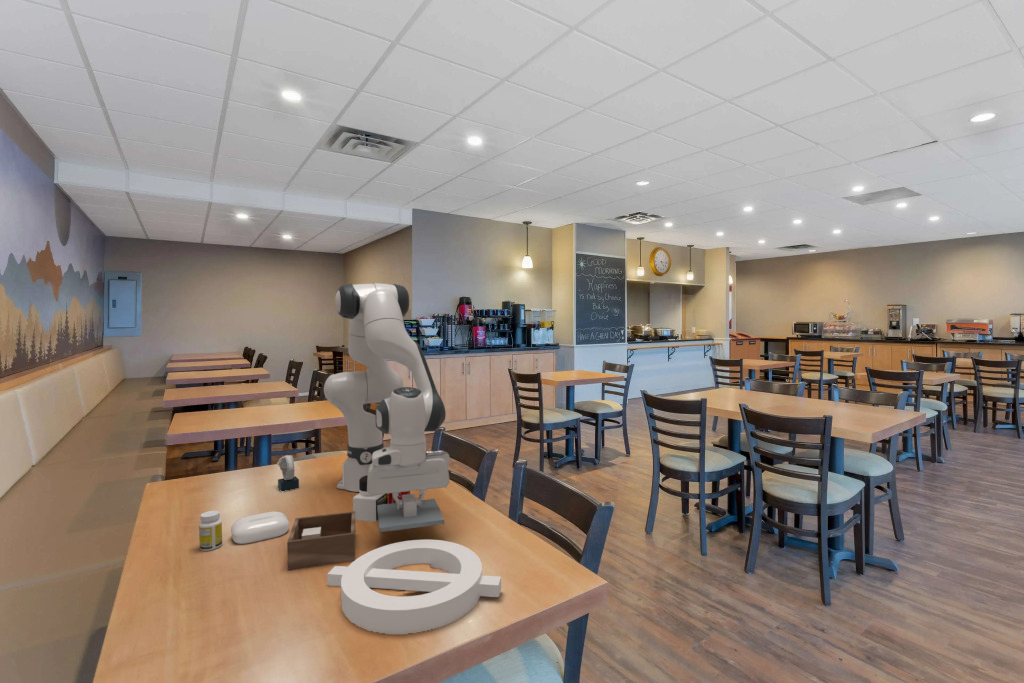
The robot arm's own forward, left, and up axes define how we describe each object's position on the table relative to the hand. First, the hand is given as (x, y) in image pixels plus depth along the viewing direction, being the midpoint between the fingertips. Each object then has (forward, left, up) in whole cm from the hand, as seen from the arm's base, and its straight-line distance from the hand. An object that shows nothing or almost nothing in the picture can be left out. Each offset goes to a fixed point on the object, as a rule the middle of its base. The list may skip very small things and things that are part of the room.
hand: (409, 507), depth 121 cm
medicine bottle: (-18, -9, -9) cm, 22 cm away
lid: (0, 0, -3) cm, 3 cm away
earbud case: (-15, -36, -9) cm, 40 cm away
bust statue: (-53, -35, -9) cm, 64 cm away
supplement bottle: (-12, -47, -9) cm, 49 cm away
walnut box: (+1, -20, -9) cm, 22 cm away
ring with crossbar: (+23, -1, -9) cm, 25 cm away
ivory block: (-2, -23, -8) cm, 24 cm away
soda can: (-21, -1, -9) cm, 23 cm away
